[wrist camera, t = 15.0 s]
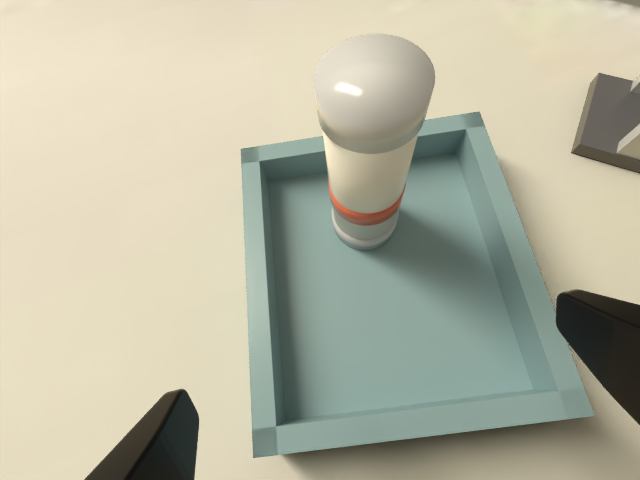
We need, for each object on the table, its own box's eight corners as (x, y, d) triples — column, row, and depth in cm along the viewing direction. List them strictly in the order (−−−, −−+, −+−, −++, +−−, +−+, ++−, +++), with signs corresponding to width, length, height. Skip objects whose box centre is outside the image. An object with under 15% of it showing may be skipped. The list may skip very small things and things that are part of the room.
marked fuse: (408, 219, 23) (460, 69, 12) (366, 263, 22) (379, 146, 11) (361, 183, 24) (367, 18, 13) (320, 223, 23) (289, 83, 12)
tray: (553, 409, 19) (595, 416, 16) (269, 444, 20) (253, 457, 16) (463, 144, 26) (479, 111, 23) (254, 176, 26) (240, 149, 23)
